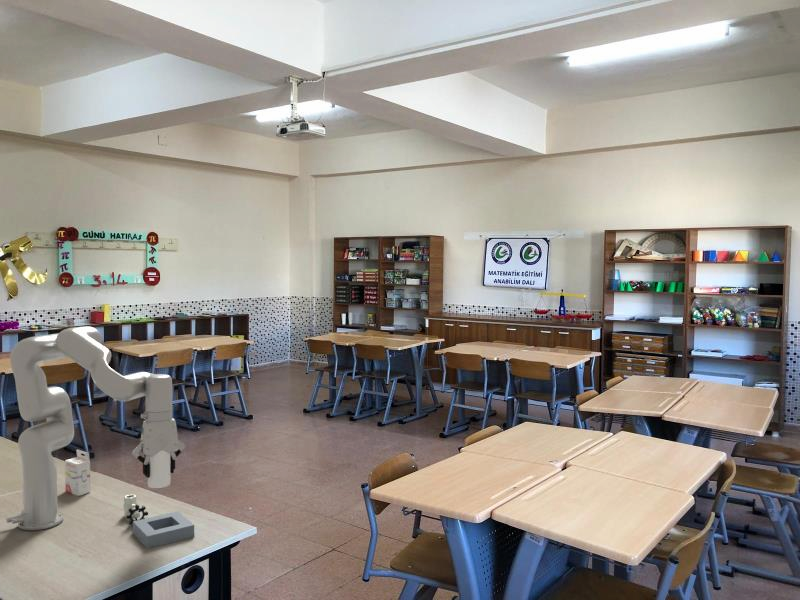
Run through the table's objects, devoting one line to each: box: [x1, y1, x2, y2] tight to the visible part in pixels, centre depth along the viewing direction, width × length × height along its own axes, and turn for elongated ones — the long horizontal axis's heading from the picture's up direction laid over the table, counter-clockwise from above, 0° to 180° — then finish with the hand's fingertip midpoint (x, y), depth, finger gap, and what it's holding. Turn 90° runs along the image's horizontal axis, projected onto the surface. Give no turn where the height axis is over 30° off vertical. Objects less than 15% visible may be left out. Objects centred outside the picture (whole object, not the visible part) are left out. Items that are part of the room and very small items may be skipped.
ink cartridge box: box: [64, 449, 91, 497], centre depth 236 cm, size 9×5×15 cm, turn 58°
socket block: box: [132, 510, 195, 549], centre depth 200 cm, size 14×14×4 cm
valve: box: [122, 494, 149, 526], centre depth 211 cm, size 7×7×12 cm
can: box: [147, 451, 171, 490], centre depth 197 cm, size 6×6×12 cm
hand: (159, 473), depth 197 cm, fingers closed on can, 6 cm apart
